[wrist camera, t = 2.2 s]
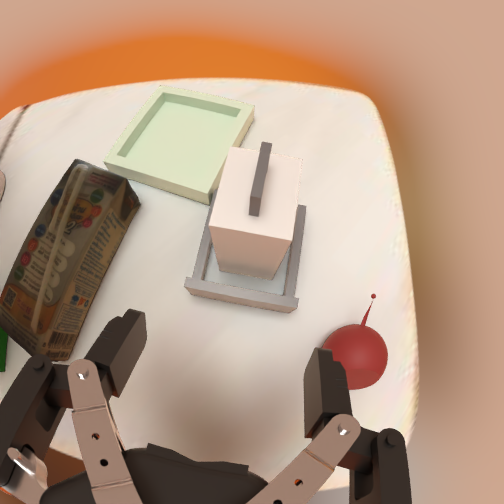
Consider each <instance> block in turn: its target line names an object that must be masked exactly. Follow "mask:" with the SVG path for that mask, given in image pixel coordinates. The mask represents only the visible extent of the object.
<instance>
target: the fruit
mask: <svg viewBox="0 0 504 504" xmlns="http://www.w3.org/2000/svg"><path fill="white" fill-rule="evenodd" d="M375 297H376V295H375V294H372V295H371V298H373V299H374V298H375ZM372 302H373V301H372ZM371 305H372V303H371ZM371 305H370V307H369V309H368V311H367V312H366V314H365V316H364V318H363V320H362V323H361V325H359V324H353V325H347V326H344V327H342V328H340V329H338V330H336V331H335V332H333V333H332V334H331V335H330V336H329V337H328V338H327V340H326V341H325V343H324V345H323V347H322V348H323V349H331V350H332V354H333V361H340V362H341V364H342V365H343V367H344V369H345V370H346V376H347V383H348V389H349V390H355V389H361V388H365V387H368V386H371V385H373V384H375V383H376V382H377V381H378V380H379V379H380V377H381V376H382V375H383V373H384V371H385V368H386V365H387V360H388V352H387V347H386V344H385V342H384V340H383V338H382V337H381V336H380V335H379V334H378V333H377V332H376V331H375V330H373V329H372V328H370V327H367V326H365V324H366V320H367V317H368V313H369V311H370V308H371Z"/></svg>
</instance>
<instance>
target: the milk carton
mask: <svg viewBox="0 0 504 504" xmlns="http://www.w3.org/2000/svg"><path fill="white" fill-rule="evenodd" d="M7 338H8V334H7V333H6V332H5V331H4V330H3V329H2V328H1V327H0V372H5V359H6V347H7Z"/></svg>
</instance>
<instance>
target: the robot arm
mask: <svg viewBox="0 0 504 504" xmlns="http://www.w3.org/2000/svg"><path fill="white" fill-rule="evenodd" d="M4 187H5V177H4V174H3V173H2V172H1V171H0V200H1V197H2V194H3V191H4ZM146 340H147V331H146V320H145V313H144V312H141V311H137V310H133V309H128V310H127V312H126V313H125V314H124V316H123V317H119V316H117V317H115V318H114V319H112V320H111V321H109V322H108V324H107V325H106V327H105V328H104V331H102V332H101V334H100V336H99V337H98V338H97V340H96V341H95V343H94V344H93V346H92V347H91V349H90V350H89V352H88V353H87V355H86V356H85V358H84V359H79V360H76V361H74V362H73V363H71V364H70V365H60V364H52V361H51V359H50V358H49V357H48V356H46V355H43V354H37V355H34V356H32V357H30V358H29V359H28V361H27V362H26V364H25V365H24V367H23V368H22V370H21V371H20V373H19V374H18V376H17V377H16V379H15V381H14V382H13V384H12V385H11V387H10V389H9V390H8V392H7V394H6V395H5V397H4V399H3V400H2V402H1V404H0V490H2V491H4V492H5V493H7V494H10V495H12V496H13V497H15V498H17V499H20V500H21V501H23V502H25V503H26V504H306V503H307V502H308V501H309V500H310V499H311V497H312V496H313V495H314V494H315V493H316V492H317V491H318V490H319V489H320V487H321V486H322V485H323V484H324V483H325V482H326V480H327V479H328V478H329V477H330V475H331V474H332V473H333V472H334V470H335V469H334V468H335V467H336V466H340V467H343V468H347V469H349V470H350V490H349V491H350V493H349V495H350V496H349V504H412V498H411V488H410V478H409V469H408V461H407V454H406V446H405V440H404V437H403V436H402V434H401V433H400V432H399V431H397V430H395V429H392V428H387V429H384V430H382V431H381V432H380V433H378V432H375V431H371V430H368V429H365V428H363V427H361V426H360V424H359V422H358V421H357V420H356V419H355V418H354V417H353V415H352V409H351V402H350V395H349V389H348V383H347V376H346V370H345V369H344V367H343V365H342V364H341V362H340V361H333V354H332V350H331V349H323V348H315V349H314V351H313V353H312V355H311V358H310V360H309V362H308V364H307V367H306V369H305V373H304V429H305V438H312V442H311V443H310V444H309V445H308V447H307V448H306V449H304V450H303V451H302V452H301V453H300V454H299V455H298V456H297V457H296V458H295V459H294V460H293V461H292V462H291V463H290V464H289V465H288V466H287V467H286V468H285V469H284V470H283V471H282V472H281V473H280V474H279V475H278V476H277V477H276V478H275V479H274V480H273V481H271V482H270V483H269V484H268V482H266V481H265V480H264V479H263V478H261V477H260V476H258V475H256V474H254V473H252V472H249V471H248V466H249V465H242V464H235V463H229V462H196V461H193V460H191V459H189V458H187V457H185V456H183V455H181V454H179V453H177V452H175V451H173V450H171V449H167V448H163V447H160V446H157V445H153V444H150V443H148V445H147V448H134V449H129V450H125V447H124V445H123V442H122V440H121V437H120V435H119V432H118V429H117V426H116V423H115V420H114V417H113V414H112V411H111V407H110V404H109V400H110V398H111V396H112V395H113V396H115V397H118V398H119V397H120V395H121V393H122V391H123V389H124V387H125V385H126V383H127V381H128V379H129V377H130V375H131V373H132V371H133V369H134V367H135V365H136V363H137V361H138V359H139V357H140V355H141V353H142V351H143V349H144V347H145V344H146ZM66 408H71V409H73V411H72V418H73V423H74V427H75V432H76V436H77V440H78V444H79V447H80V451H81V454H82V458H83V461H84V465H85V468H86V470H85V471H83V472H81V473H79V474H77V475H74V476H72V477H70V478H68V479H66V480H63V481H61V482H59V483H57V484H55V485H52V486H50V487H49V488H48V487H47V484H46V478H47V469H46V466H45V465H44V463H43V459H44V457H45V455H46V452H47V450H48V448H49V445H50V443H51V441H52V439H53V436H54V434H55V432H56V430H57V427H58V425H59V423H60V421H61V419H62V417H63V415H64V412H65V410H66Z"/></svg>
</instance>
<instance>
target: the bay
mask: <svg viewBox="0 0 504 504" xmlns="http://www.w3.org/2000/svg"><path fill="white" fill-rule="evenodd" d="M217 191H218V190H217V189H215V190H214V194H213V198H212V201H211V205H210V209H209V213H208V216H207V220H206V224H205V228H204V232H203V236H202V240H201V244H200V248H199V252H198V256H197V260H196V264H195V268H194V272H193V277H192V278H189V277H186V280H185V284H184V287H185V288H186V289H187V290H188V291H189V292H190V293H191V294H192V295H196V296H201V297H206V298H211V299H215V300H220V301H225V302H230V303H236V304H241V305H246V306H251V307H257V308H262V309H268V310H273V311H279V312H285V313H290V312H292V311H293V310H295V309H297V307H298V300H299V298H294V294H295V288H296V281H297V274H298V267H299V260H300V253H301V245H302V238H303V230H304V222H305V214H306V206H303V205H298V207H297V209H296V216H295V223H294V231H293V238H292V242H291V249H290V255H289V262H288V269H287V275H286V281H285V288H284V294H283V296H282V295H277V294H271V293H266V292H260V291H255V290H250V289H244V288H239V287H234V286H229V285H224V284H219V283H214V282H209V281H204V275H205V271H206V267H207V262H208V258H209V254H210V249H211V245H212V237H211V233H210V229H209V222H210V218H211V214H212V210H213V206H214V203H215V199H216V195H217Z"/></svg>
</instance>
